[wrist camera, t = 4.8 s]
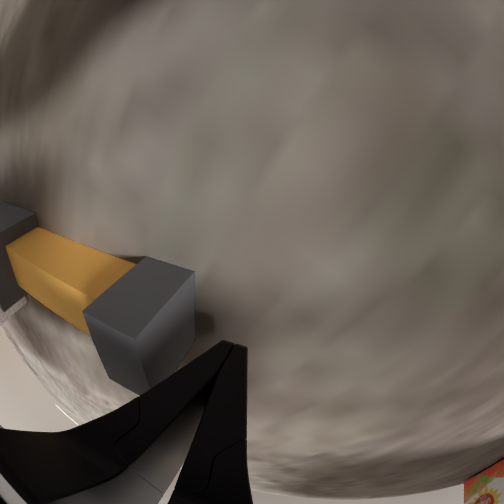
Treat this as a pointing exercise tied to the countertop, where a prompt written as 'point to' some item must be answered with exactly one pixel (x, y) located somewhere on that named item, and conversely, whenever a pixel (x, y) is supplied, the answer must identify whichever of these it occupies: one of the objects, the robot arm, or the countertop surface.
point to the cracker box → (486, 486)
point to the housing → (12, 310)
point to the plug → (102, 298)
